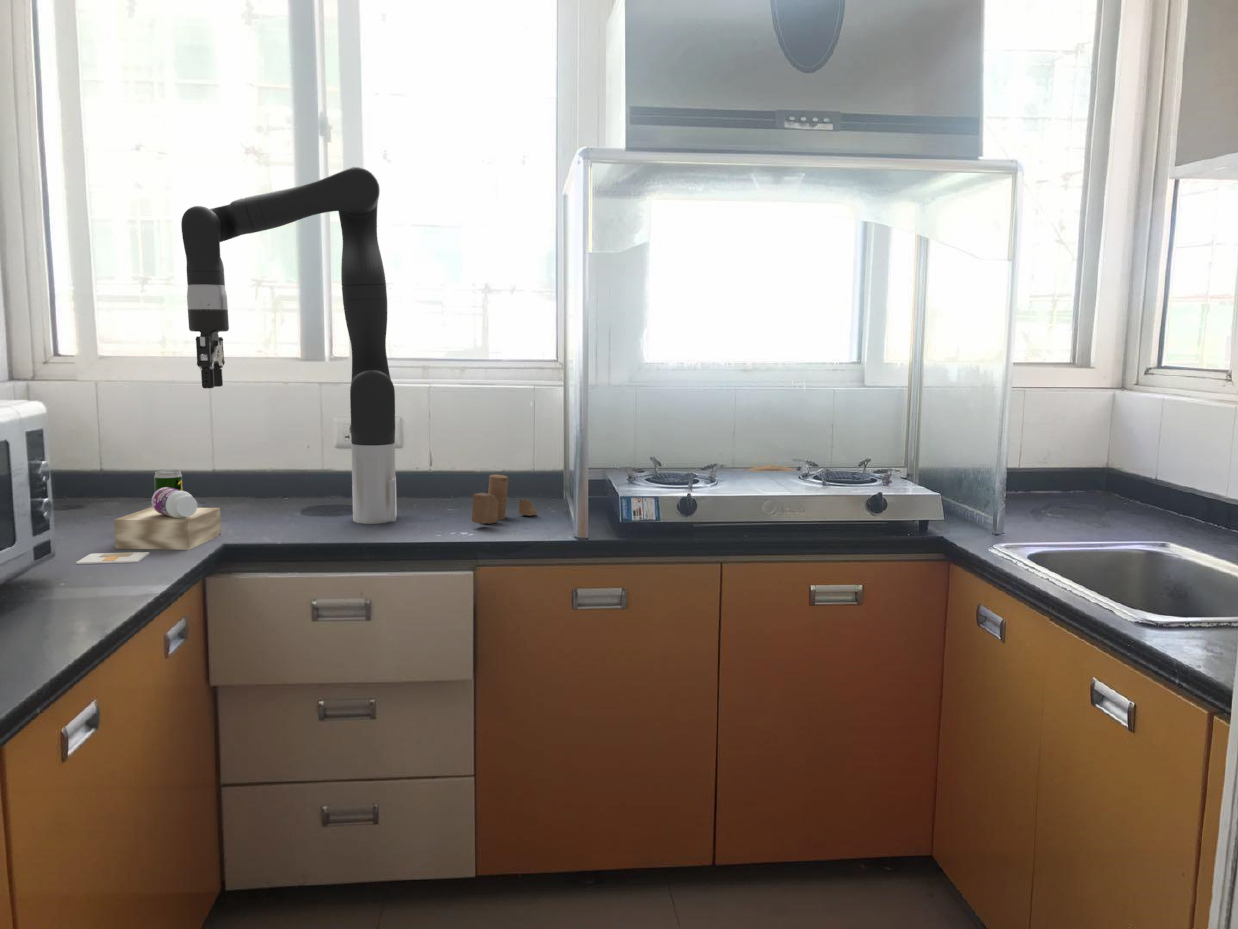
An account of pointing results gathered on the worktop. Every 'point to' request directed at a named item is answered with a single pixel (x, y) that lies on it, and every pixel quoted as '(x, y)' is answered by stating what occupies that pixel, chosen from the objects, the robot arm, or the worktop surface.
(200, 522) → the birch block
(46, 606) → the worktop surface
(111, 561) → the card
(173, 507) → the pill bottle
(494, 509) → the wooden block set
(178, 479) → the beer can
